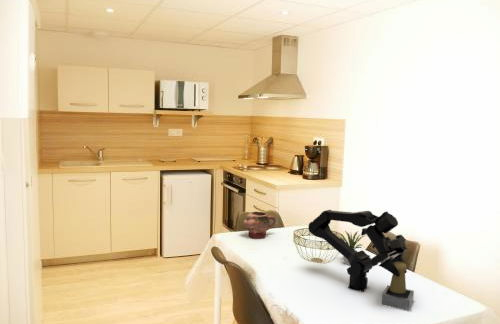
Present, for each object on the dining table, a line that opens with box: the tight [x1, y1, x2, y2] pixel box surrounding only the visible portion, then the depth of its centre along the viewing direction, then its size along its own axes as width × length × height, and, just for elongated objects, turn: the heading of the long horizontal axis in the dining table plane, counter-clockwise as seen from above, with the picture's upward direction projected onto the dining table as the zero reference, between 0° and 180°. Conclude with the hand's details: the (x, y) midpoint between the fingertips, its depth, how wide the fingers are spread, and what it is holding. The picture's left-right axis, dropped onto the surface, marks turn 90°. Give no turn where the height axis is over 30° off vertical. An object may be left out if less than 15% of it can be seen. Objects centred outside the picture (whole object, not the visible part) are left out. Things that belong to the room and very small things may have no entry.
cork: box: [389, 261, 408, 293], centre depth 158 cm, size 6×6×11 cm
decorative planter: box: [243, 211, 277, 240], centre depth 240 cm, size 20×12×14 cm, turn 116°
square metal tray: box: [381, 284, 415, 312], centre depth 159 cm, size 10×10×4 cm
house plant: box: [338, 230, 365, 266], centre depth 200 cm, size 14×14×16 cm
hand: (402, 274), depth 157 cm, fingers closed on cork, 5 cm apart
